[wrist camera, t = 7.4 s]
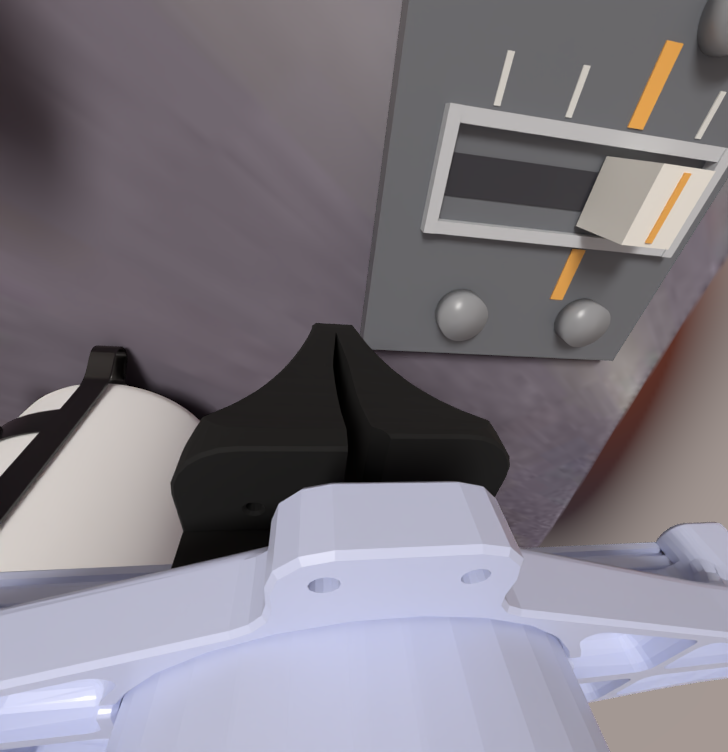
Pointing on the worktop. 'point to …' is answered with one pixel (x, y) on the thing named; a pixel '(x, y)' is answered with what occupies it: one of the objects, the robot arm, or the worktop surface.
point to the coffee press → (92, 474)
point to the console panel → (534, 168)
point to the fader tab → (642, 201)
